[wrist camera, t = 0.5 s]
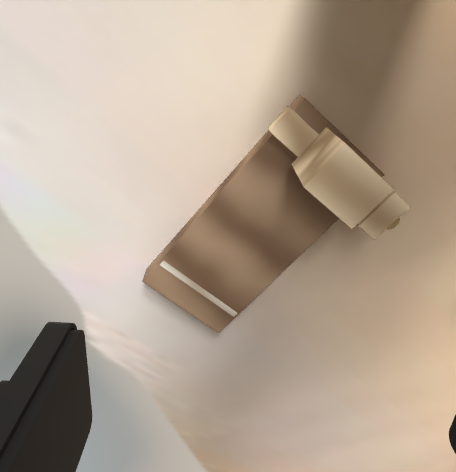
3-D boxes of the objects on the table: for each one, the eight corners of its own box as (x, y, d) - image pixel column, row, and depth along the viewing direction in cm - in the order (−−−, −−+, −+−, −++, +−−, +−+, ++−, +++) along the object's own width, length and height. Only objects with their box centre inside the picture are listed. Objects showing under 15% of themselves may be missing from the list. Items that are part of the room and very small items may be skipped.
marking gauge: (290, 94, 36) (312, 111, 27) (395, 193, 39) (444, 237, 30) (259, 130, 37) (270, 157, 28) (363, 222, 41) (402, 273, 32)
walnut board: (299, 94, 36) (304, 98, 34) (375, 167, 39) (384, 174, 36) (146, 268, 43) (142, 281, 41) (219, 319, 46) (218, 333, 44)
